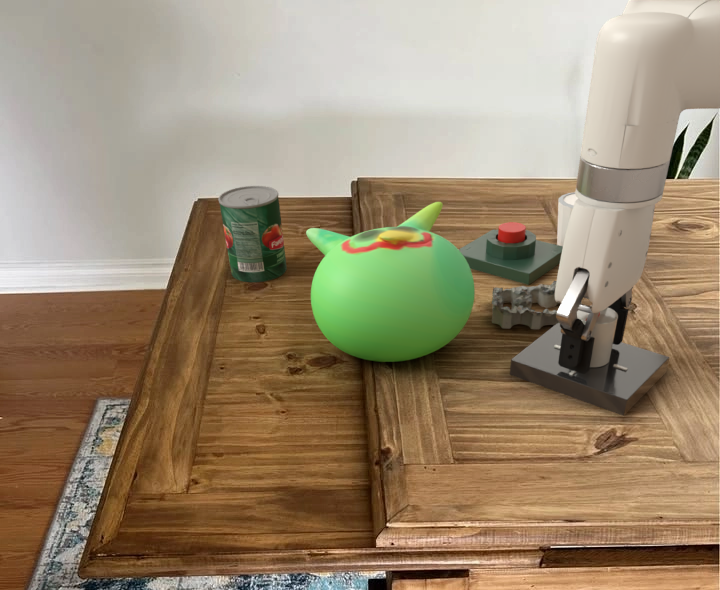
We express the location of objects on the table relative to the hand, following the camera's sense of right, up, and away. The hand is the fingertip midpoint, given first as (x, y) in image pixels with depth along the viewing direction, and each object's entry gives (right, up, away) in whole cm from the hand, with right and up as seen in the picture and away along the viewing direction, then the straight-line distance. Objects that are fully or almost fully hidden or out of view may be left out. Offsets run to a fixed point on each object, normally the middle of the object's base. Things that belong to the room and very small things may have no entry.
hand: (590, 353), depth 76 cm
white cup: (+7, +19, +28) cm, 35 cm away
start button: (-4, +19, +22) cm, 30 cm away
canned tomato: (-38, +15, +27) cm, 49 cm away
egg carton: (-3, +6, +12) cm, 14 cm away
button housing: (-4, +16, +25) cm, 30 cm away
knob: (0, 0, 0) cm, 1 cm away
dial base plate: (0, -2, +2) cm, 3 cm away
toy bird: (-20, +2, +9) cm, 22 cm away
